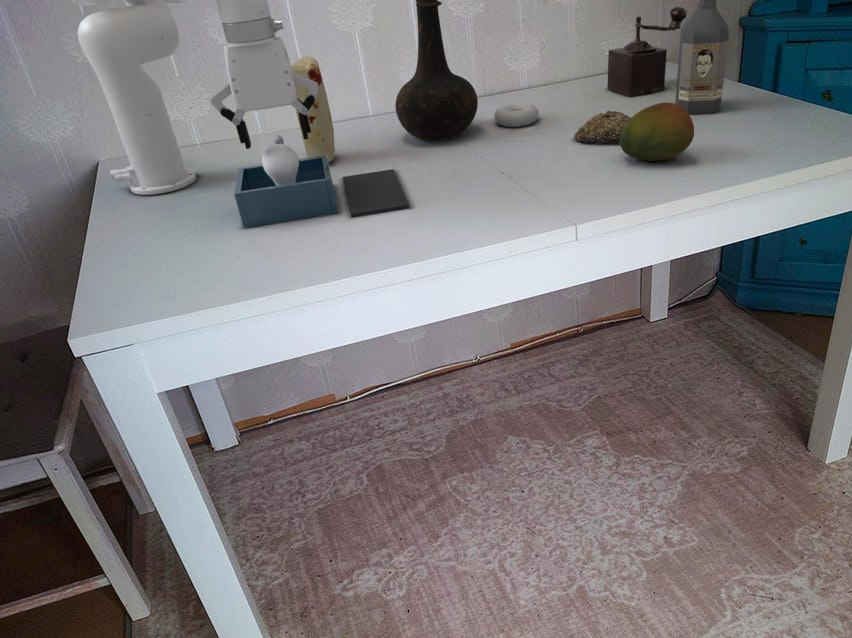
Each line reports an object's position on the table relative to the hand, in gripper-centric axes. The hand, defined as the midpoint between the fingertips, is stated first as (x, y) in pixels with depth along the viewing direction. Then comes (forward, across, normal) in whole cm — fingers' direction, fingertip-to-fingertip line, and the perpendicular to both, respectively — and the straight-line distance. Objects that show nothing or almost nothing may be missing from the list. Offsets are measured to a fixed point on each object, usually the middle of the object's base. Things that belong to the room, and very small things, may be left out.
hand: (277, 142), depth 118 cm
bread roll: (+12, -64, -12) cm, 67 cm away
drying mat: (+12, -14, 0) cm, 19 cm away
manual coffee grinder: (+12, -88, -44) cm, 99 cm away
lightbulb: (+12, 0, 0) cm, 12 cm away
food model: (+11, -6, -24) cm, 28 cm away
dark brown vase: (+12, -32, -30) cm, 46 cm away
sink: (+11, 0, -2) cm, 12 cm away
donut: (+12, -50, -32) cm, 61 cm away
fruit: (+13, -66, +6) cm, 68 cm away
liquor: (+13, -90, -22) cm, 93 cm away
